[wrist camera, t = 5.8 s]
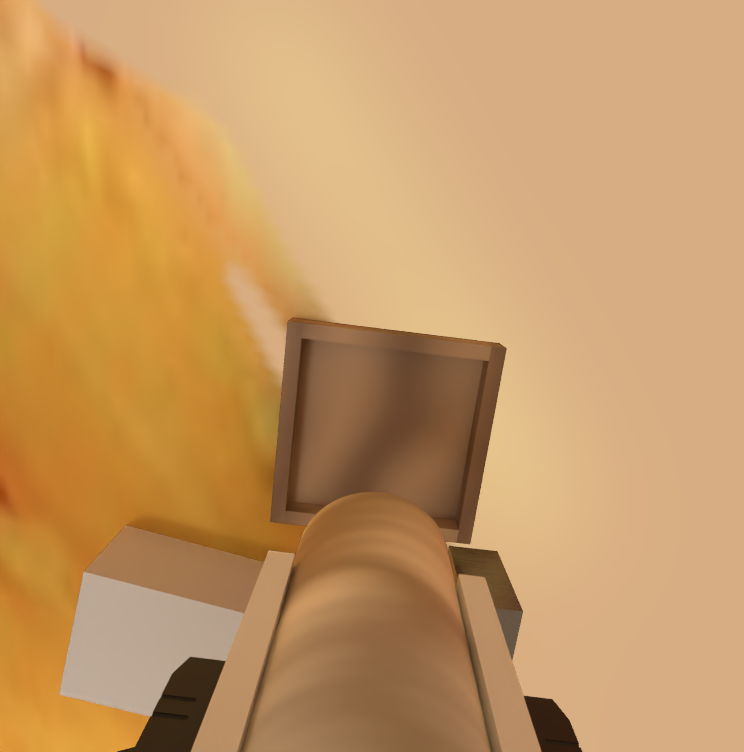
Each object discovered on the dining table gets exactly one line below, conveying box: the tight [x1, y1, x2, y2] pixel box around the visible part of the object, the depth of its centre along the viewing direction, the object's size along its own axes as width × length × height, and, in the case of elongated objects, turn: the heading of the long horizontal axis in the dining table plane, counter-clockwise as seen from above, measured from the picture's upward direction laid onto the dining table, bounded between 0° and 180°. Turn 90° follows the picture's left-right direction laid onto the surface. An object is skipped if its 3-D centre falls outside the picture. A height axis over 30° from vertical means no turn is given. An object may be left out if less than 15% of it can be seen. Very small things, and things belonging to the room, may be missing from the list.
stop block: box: [448, 546, 523, 659], centre depth 30 cm, size 3×12×6 cm, turn 173°
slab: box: [59, 525, 264, 716], centre depth 30 cm, size 12×8×5 cm, turn 73°
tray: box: [270, 318, 506, 544], centre depth 29 cm, size 12×12×2 cm
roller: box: [241, 492, 492, 752], centre depth 13 cm, size 5×5×9 cm
